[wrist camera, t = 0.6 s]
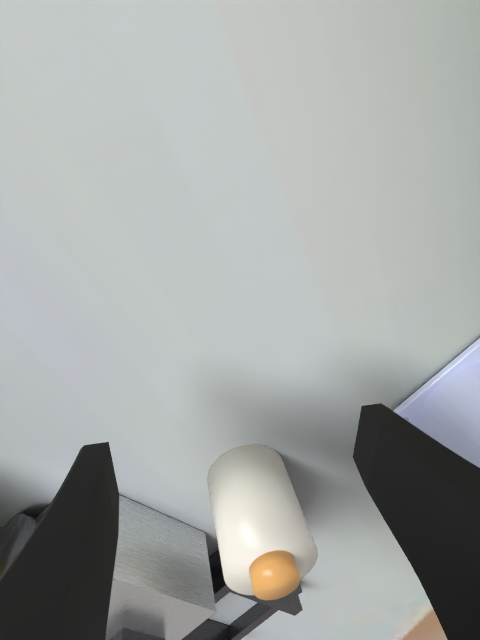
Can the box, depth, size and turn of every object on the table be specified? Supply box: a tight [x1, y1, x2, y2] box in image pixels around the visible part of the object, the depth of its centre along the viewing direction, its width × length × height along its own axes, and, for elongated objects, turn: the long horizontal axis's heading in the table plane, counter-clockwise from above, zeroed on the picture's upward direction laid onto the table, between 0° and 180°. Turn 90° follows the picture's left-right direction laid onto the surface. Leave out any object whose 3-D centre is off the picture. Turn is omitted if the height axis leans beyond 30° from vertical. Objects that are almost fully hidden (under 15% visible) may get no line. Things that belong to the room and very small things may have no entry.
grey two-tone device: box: [0, 495, 303, 640], centre depth 26 cm, size 22×9×6 cm, turn 45°
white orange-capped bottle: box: [207, 444, 318, 600], centre depth 23 cm, size 5×5×7 cm
